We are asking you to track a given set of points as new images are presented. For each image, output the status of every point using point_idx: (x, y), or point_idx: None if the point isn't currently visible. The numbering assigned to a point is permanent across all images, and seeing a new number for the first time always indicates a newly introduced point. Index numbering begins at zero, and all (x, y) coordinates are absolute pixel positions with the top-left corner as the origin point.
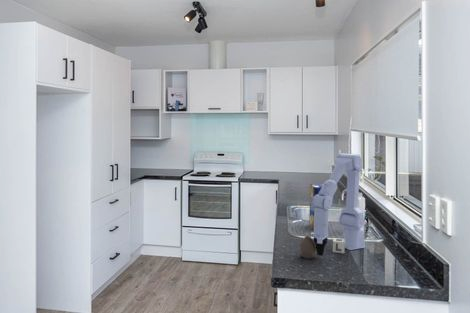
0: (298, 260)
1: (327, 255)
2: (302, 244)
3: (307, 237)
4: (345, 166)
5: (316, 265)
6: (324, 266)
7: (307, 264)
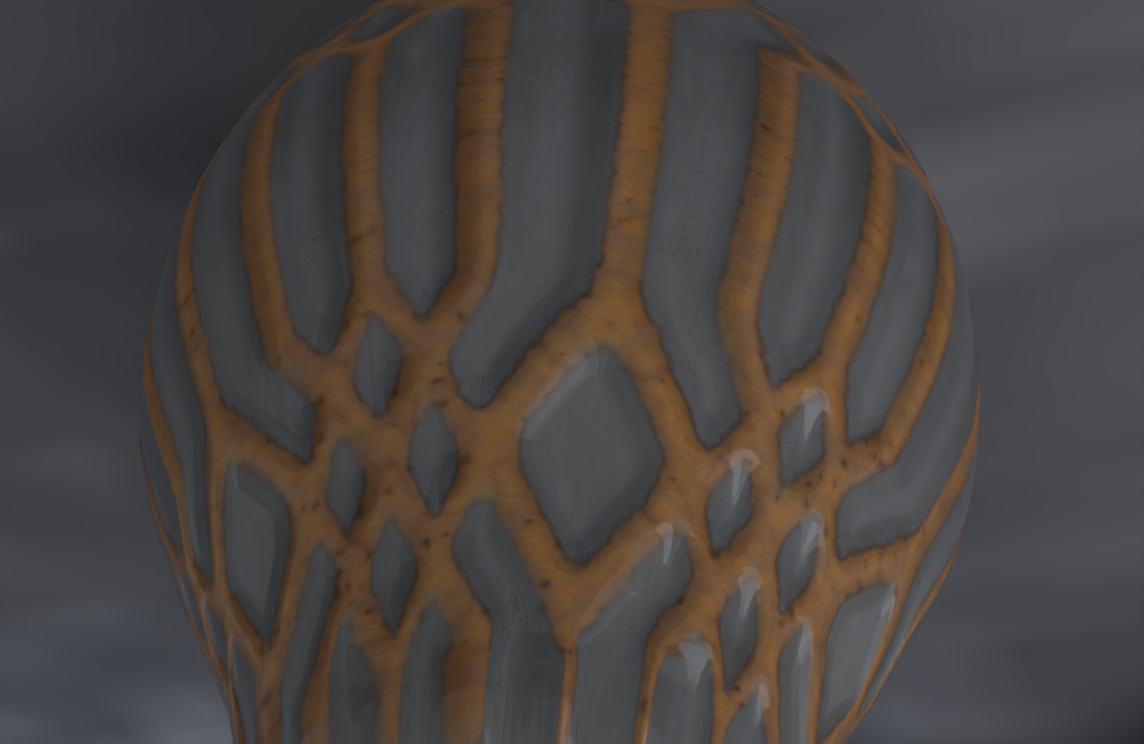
0: (110, 32)
1: (917, 643)
2: (161, 307)
3: (808, 726)
4: None
5: (128, 534)
6: (196, 665)
7: (24, 348)
